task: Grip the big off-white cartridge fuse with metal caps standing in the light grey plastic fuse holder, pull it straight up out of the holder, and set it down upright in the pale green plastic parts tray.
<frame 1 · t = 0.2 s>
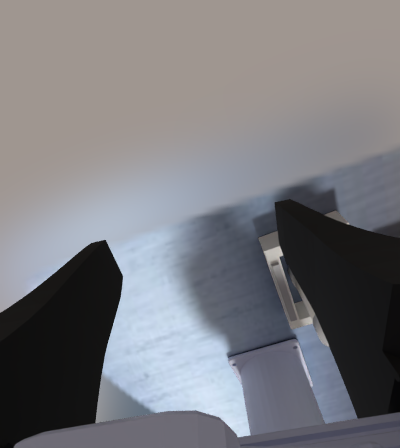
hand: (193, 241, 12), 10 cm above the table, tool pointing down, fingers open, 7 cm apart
fuse: (323, 295, 22), in the holder
holder: (307, 267, 25), on the table
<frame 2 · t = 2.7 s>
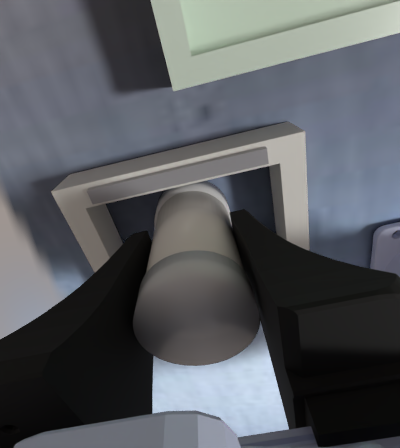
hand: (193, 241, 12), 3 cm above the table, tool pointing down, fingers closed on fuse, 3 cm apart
fuse: (194, 253, 11), in the holder, touching gripper
holder: (192, 212, 14), on the table
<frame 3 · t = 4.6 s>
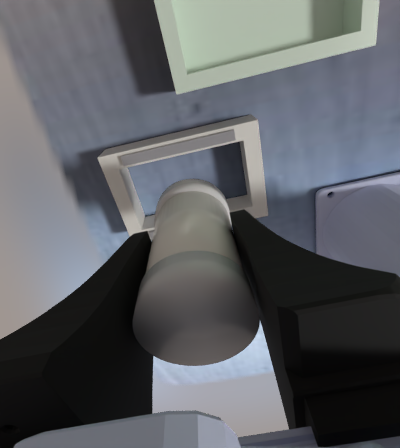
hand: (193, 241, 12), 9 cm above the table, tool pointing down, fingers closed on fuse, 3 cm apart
fuse: (194, 254, 11), point 10 cm above the table, touching gripper
holder: (188, 178, 20), on the table
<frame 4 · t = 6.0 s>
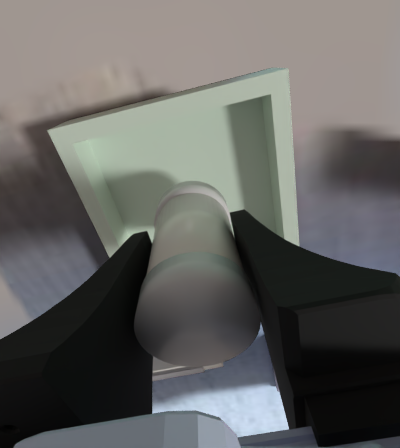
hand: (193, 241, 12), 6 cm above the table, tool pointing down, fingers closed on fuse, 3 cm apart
fuse: (194, 255, 11), point 6 cm above the table, touching gripper
parts tray: (192, 190, 17), on the table
holder: (152, 329, 22), on the table
when the fingers open (4 cm above the table, at t = 7.0 s): fuse stays where it is, resting on parts tray.
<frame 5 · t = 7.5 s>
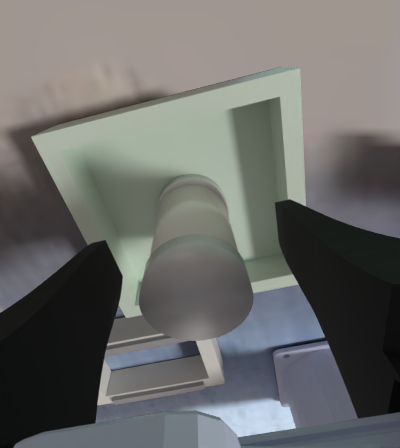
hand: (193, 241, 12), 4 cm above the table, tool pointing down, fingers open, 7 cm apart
fuse: (193, 242, 12), in the parts tray, point 4 cm above the table
parts tray: (192, 199, 15), on the table
holder: (150, 344, 21), on the table
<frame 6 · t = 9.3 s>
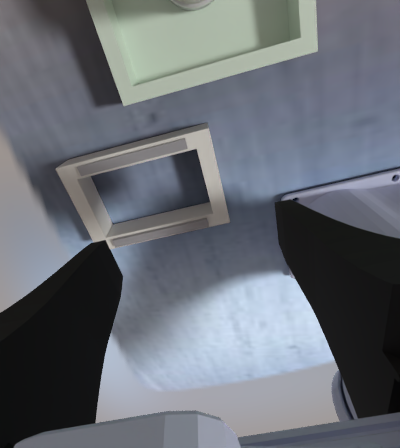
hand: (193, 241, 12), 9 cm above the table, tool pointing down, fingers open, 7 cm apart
holder: (151, 186, 20), on the table
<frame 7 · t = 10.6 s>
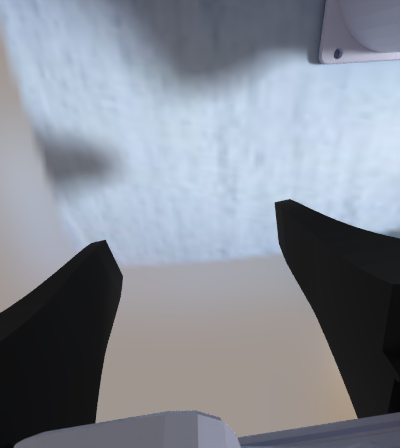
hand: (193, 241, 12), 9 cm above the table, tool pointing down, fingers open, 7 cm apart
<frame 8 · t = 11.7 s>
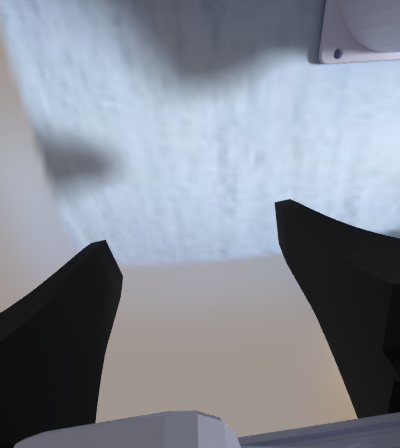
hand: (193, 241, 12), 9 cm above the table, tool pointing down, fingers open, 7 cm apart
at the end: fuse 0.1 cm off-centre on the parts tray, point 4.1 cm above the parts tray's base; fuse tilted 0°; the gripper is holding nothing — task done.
